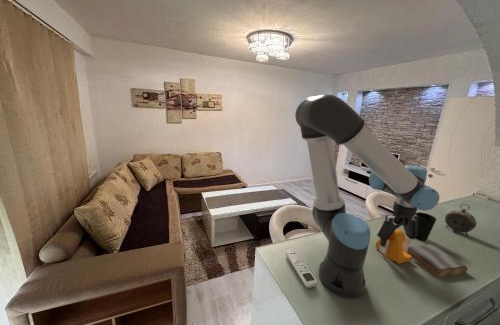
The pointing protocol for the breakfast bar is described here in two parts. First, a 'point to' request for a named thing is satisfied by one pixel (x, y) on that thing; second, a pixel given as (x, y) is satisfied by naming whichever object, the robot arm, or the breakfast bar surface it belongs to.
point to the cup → (424, 226)
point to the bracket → (396, 247)
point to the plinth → (436, 260)
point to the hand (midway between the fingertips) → (393, 251)
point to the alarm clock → (460, 220)
